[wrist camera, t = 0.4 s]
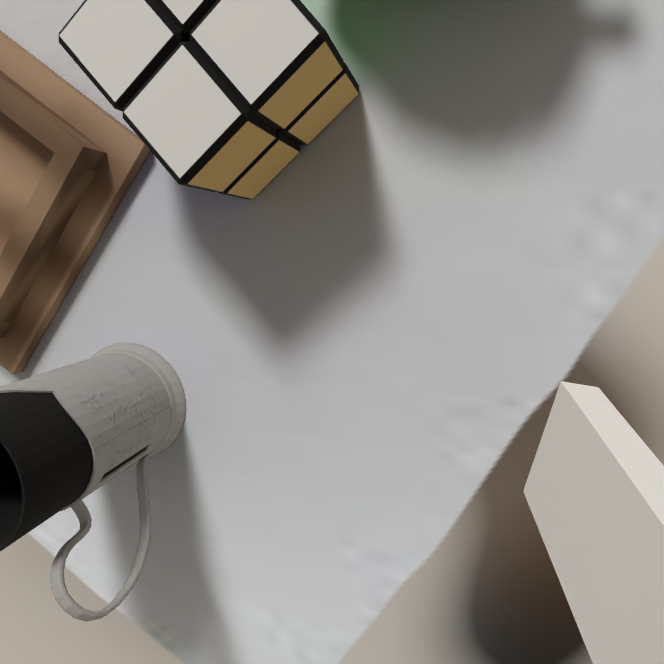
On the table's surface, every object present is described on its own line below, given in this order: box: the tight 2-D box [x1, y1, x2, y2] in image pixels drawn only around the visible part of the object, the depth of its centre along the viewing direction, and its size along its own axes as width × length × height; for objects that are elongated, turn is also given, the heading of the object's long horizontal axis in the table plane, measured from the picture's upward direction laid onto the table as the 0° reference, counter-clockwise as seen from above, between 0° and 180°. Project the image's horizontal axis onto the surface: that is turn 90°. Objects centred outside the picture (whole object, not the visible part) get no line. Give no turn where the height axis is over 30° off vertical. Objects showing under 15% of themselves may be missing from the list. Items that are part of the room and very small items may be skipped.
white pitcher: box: [0, 343, 186, 621], centre depth 34 cm, size 9×14×15 cm, turn 34°
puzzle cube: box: [59, 0, 359, 199], centre depth 31 cm, size 10×10×10 cm
